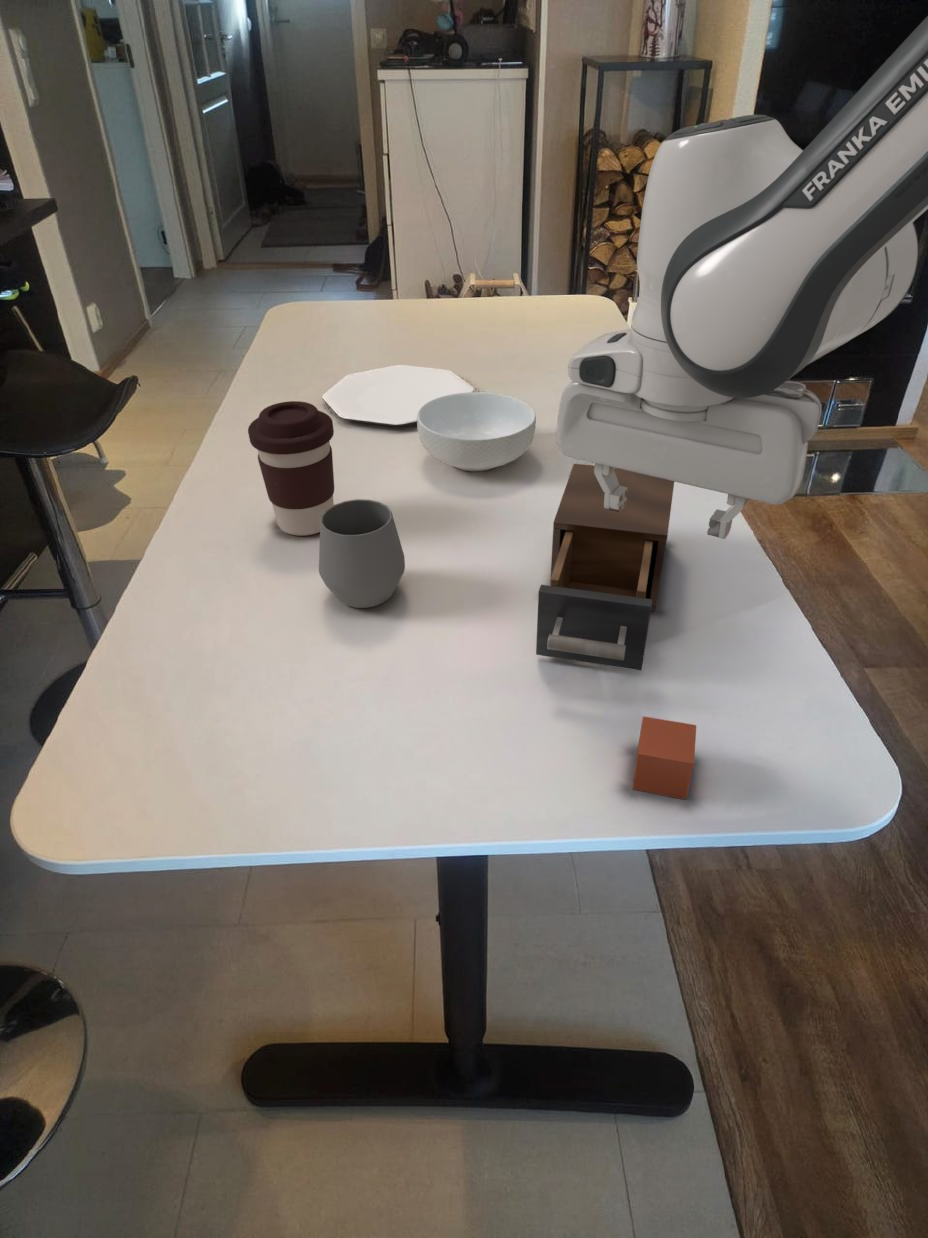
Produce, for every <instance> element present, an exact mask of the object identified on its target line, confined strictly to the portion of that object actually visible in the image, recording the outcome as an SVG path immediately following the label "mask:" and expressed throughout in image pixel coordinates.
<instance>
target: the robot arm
mask: <svg viewBox="0 0 928 1238" xmlns="http://www.w3.org/2000/svg"><path fill="white" fill-rule="evenodd" d="M645 186H646V187H645V192H644V197H643V203H642V208H641V217H640V223H639V224H640V225H639V233H638V242H637V252H636V253H637V254H636V269H637V274H638V281H639V293H638V298H637V302H636V305H635V307H634V309H633V313H632V316H631V322H630V328H627V329H623V330H617V331H616V330H615V331H611V332H606V333H603V334H602V335H599V336H597V337H595V338H594V339H592V340H591V341H589V342H587V343H585V345H583V346H582V347H580V349H578V350H577V351H576V352H575V353H574V354H573V355H572V356H571V357H570V358H569V359H568V363H567V373H568V378H569V379H570V380H571V382H570V383H568V384H567V385H566V386H565V388H564V389H563V391H562V393H561V396H560V401H559V406H558V412H557V419H556V430H555V431H556V432H555V442H556V445H557V447H558V448H559V450H560V452H561V454H562V455H563V456H565V457H567V458H571V459H576V460H580V461H585V462H588V463H593V464H594V474H595V476H596V478H597V480H598V482H599V484H600V486H601V488H602V490H603V492H605V497H604V508H606V509H610V510H614V511H618V512H620V511H621V510H622V508H624V507H625V505H626V502H627V498H626V495H627V493H628V488H627V487H623V486H620V484H619V482H618V479H617V477H616V474H615V472H614V469H615V468H618V469H623V470H627V471H631V472H635V473H640V474H644V475H648V476H653V477H657V478H661V479H666V480H670V481H674V483H678V484H683V485H688V486H691V487H696V488H701V489H705V490H708V491H713V492H718V493H722V494H725V495H727V499H726V504H727V505H728V506H729V508H728V509H726V510H723V509H715V511H714V512H713V514H712V515H711V516H710V517H709V521H708V529H707V535H708V536H711V537H714V538H719V539H722V540H726V538H727V537H728V536H729V534H730V532H731V529H732V524H733V519H735V517H736V516H738V514H739V513H741V511H743V510H744V509H745V507H746V506H747V504H748V503H749V501H750V500H752V501H756V502H761V503H765V504H769V505H772V506H773V505H774V506H782V505H783V504H785V503H787V502H788V501H790V500H791V499H792V498H794V497H795V495H796V494H797V492H798V490H799V489H800V487H801V485H802V483H803V479H804V474H805V470H806V465H807V464H806V463H807V456H808V446H809V442H810V441H811V440H812V439H813V438H814V437H815V436H816V434H817V431H818V429H819V425H820V420H821V417H822V410H823V409H822V403H821V401H820V399H819V397H818V396H817V394H815V393H814V392H812V391H811V390H809V389H807V386H806V384H805V383H802V382H798V381H794V380H790V379H791V378H792V377H794V376H795V375H797V374H798V373H800V372H801V371H802V370H803V369H805V367H806V366H808V365H810V364H811V363H814V362H816V361H817V360H819V359H820V358H823V357H824V356H826V355H827V354H829V353H831V352H833V351H835V350H836V349H838V348H840V347H841V346H843V345H845V344H846V343H848V342H849V341H851V340H852V339H854V338H856V337H859V335H861V334H863V333H864V332H866V331H869V330H870V329H871V328H873V327H874V326H876V325H877V324H878V323H880V322H881V321H883V320H884V319H885V318H887V317H888V316H889V315H890V314H892V313H893V312H894V311H895V310H896V309H897V308H898V306H900V305H901V303H902V302H903V301H904V299H905V297H906V296H907V295H908V293H909V291H910V289H911V287H912V285H913V282H914V280H915V277H916V273H917V271H918V267H919V266H918V265H919V259H920V241H919V233H918V230H917V225H916V223H915V221H916V220H917V219H918V218H919V217H920V216H921V215H923V214H924V213H925V212H926V211H927V210H928V15H927V16H926V17H925V18H924V19H923V20H922V21H921V22H920V23H919V24H918V25H917V26H916V28H915V29H913V31H911V33H910V34H909V35H908V36H907V38H905V39H904V41H903V42H902V43H901V44H900V45H899V46H898V47H897V48H896V49H895V51H893V53H892V54H891V55H890V56H889V57H888V58H887V59H886V60H885V61H884V63H882V64H881V65H880V67H879V68H878V69H877V70H876V71H875V72H874V73H873V74H872V75H871V76H870V77H869V78H868V79H867V81H866V82H865V83H864V84H863V85H862V86H861V88H860V89H858V91H857V92H856V93H855V94H854V95H853V96H852V97H851V98H850V99H849V100H848V101H847V102H846V104H844V106H843V107H842V108H841V109H840V110H839V111H838V112H837V113H836V114H835V115H834V116H833V118H831V120H830V121H829V122H828V123H827V124H826V126H825V127H823V129H822V130H820V132H819V133H818V134H817V135H816V136H815V137H814V138H813V140H811V142H810V143H809V144H808V145H807V146H806V147H805V148H804V149H802V148H801V147H799V146H798V144H796V143H795V142H794V141H793V140H792V139H791V138H790V136H789V135H788V134H787V132H786V130H785V129H784V127H783V125H782V124H781V123H780V121H779V120H777V119H776V118H775V117H771V116H768V115H766V114H747V115H742V116H737V117H730V118H725V119H720V120H719V119H718V120H716V121H711V122H710V121H709V122H705V123H700V124H695V125H691V126H686V127H682V128H680V129H677V130H676V131H673V132H672V133H670V134H669V135H668V136H667V137H666V138H665V139H664V140H663V141H662V142H661V144H660V145H659V147H658V148H657V150H656V153H655V155H654V158H653V161H652V163H651V166H650V170H649V174H648V178H647V181H646V185H645ZM804 396H806V397H804Z"/></svg>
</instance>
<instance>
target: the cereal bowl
mask: <svg viewBox="0 0 928 1238" xmlns="http://www.w3.org/2000/svg"><path fill="white" fill-rule="evenodd" d="M536 424H537V415H536V412H535V410H534V408H533V407H532V406H531V405H530V404H529V403H527V402H526V401H524V400H522V399H520V398H518V397H515V396H512V395H508V394H503V393H498V392H487V391H474V392H466V393H456V394H450V395H446V396H442V397H439V398H436V399H433V400H431V401H429V402H427V403H426V404H424V405H423V406H422V407H421V408H420V409H419V411H418V414H417V423H416V425H417V428H416V429H417V434H418V437H419V440H420V443H421V445H422V446H423V448H424V449H425V450H426V452H427V453H428V454H429V455H430V456H432V457H433V458H434V459H436V460H437V461H439V462H441V463H444V464H446V465H449V466H452V467H454V468H456V469H459V470H462V471H465V472H466V471H467V472H484V471H489V470H493V469H495V468H498V467H501V466H505V465H507V464H509V463H512V462H513V461H515V460H517V459H518V458H520V457H521V456H522V455H523V454H524V453H526V451H527V450H528V449H529V447H530V446H531V444H532V442H533V439H534V436H535V432H536Z"/></svg>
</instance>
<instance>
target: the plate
mask: <svg viewBox="0 0 928 1238" xmlns="http://www.w3.org/2000/svg"><path fill="white" fill-rule="evenodd" d="M466 392H475V388H474V386H472V385H471V384H469V383H468V382H467V381H465V380H464V379H462V378H461V377H460V376H458V375H457V374H455V373H454V372H453V371H451V370H449V369H445V368H435V367H425V366H417V365H415V366H414V365H405V364H395V365H394V364H393V365H389V366H384V367H380V368H374V369H369V370H364V371H363V370H362V371H358V372H353V373H349V374H347V375H345V376H343V377H342V378H341V379H340V380H338V381H337V383H335V384H334V385H332V387H330V388H329V389H328V390H327V391H325V393H323V394H322V396H321V399H322V401H323V402H325V403H326V405H327V406H328V407H329V408H330V409H331V410H332V411H333V412H334V413H335V415H336V416H338V418H339V419H341V420H343V421H350V422H357V423H363V424H364V423H365V424H374V425H382V426H389V427H404V426H409V425H413V424H417V414H418V411H419V409H420V408H421V407H422V406H423V405H424V404H426V403H427V402H429V401H431V400H433V399H436V398H439V397H442V396H446V395H450V394H456V393H466Z"/></svg>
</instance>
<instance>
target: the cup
mask: <svg viewBox="0 0 928 1238" xmlns="http://www.w3.org/2000/svg"><path fill="white" fill-rule="evenodd" d="M318 551H319V552H318V574H319V576H320V578H321V579H322V582H323V583H324V585H325V587H326V588H327V589H328V590H329V591H330V592H331V593H332V594H333V596H334V597H335V598H336V599H337V600H338V601H339V602H341V604H344V605H345V606H348V607H352V608H355V609H368V608H375V607H377V606H380V605H382V604H384V603H385V602H386V601H388V600H389V599H390V598H392V596H393V594H394V592H395V590H396V588H397V586H398V585H399V583H400V581H401V579H402V577H403V575H404V573H405V570H406V561H405V554H404V550H403V546H402V543H401V539H400V535H399V532H398V529H397V525H396V522H395V519H394V515H393V512H392V510H391V509H390V507H389V506H388V505H386V504H384V503H382V502H380V501H377V500H372V499H363V498H362V499H358V498H357V499H351V500H344V501H341V502H339V503H334V505H333V506H332V507H330V508H328V509H327V510H326V511H325V512H324V513H323V514H322V516H321V522H320V532H319V550H318Z"/></svg>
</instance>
